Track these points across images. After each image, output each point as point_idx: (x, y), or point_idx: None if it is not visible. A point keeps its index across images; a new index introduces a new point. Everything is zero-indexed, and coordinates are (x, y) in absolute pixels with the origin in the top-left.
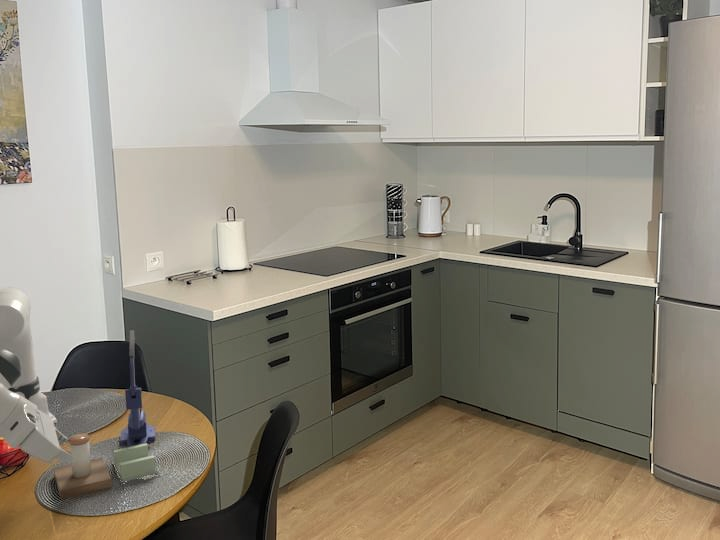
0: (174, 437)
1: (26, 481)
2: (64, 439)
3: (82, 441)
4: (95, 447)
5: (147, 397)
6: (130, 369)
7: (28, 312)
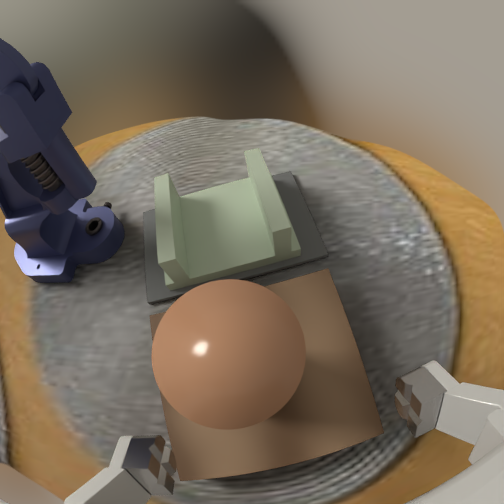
0: (99, 175)
1: None
2: (154, 455)
3: (294, 318)
4: (50, 345)
5: None
6: None
7: None
